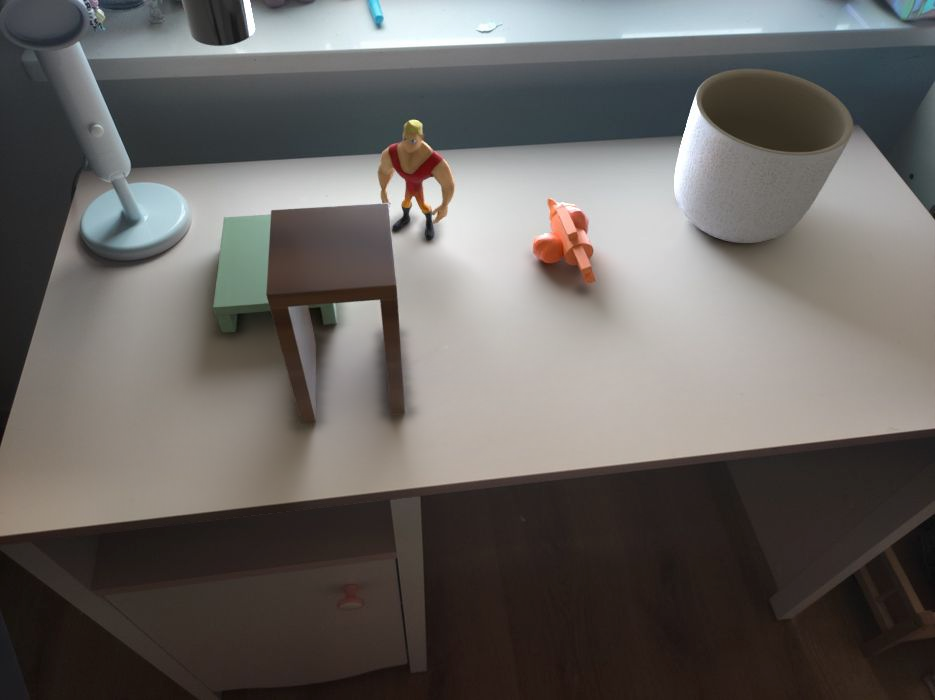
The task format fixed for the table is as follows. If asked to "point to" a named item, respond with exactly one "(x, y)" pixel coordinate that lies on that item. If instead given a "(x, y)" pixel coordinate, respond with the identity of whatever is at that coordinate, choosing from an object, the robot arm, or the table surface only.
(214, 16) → the glossy black cylinder
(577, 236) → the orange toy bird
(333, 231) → the high shelf
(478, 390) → the table surface
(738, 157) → the planter
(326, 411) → the table surface
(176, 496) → the table surface
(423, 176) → the action figure
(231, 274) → the low shelf
